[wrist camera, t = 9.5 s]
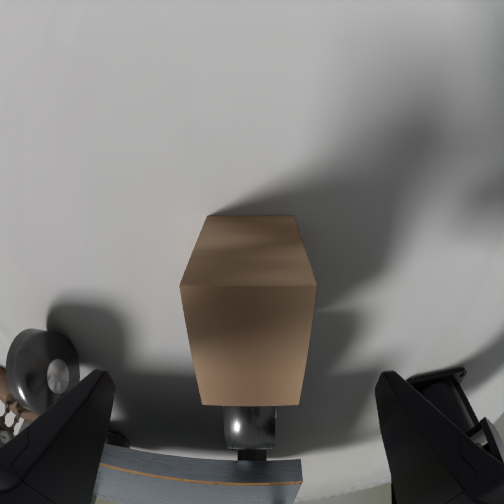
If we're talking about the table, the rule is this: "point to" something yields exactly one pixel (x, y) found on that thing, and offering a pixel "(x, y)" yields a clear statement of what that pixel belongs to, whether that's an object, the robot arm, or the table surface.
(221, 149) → the table surface
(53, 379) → the trolley
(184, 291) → the block
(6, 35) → the table surface
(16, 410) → the robot figurine
